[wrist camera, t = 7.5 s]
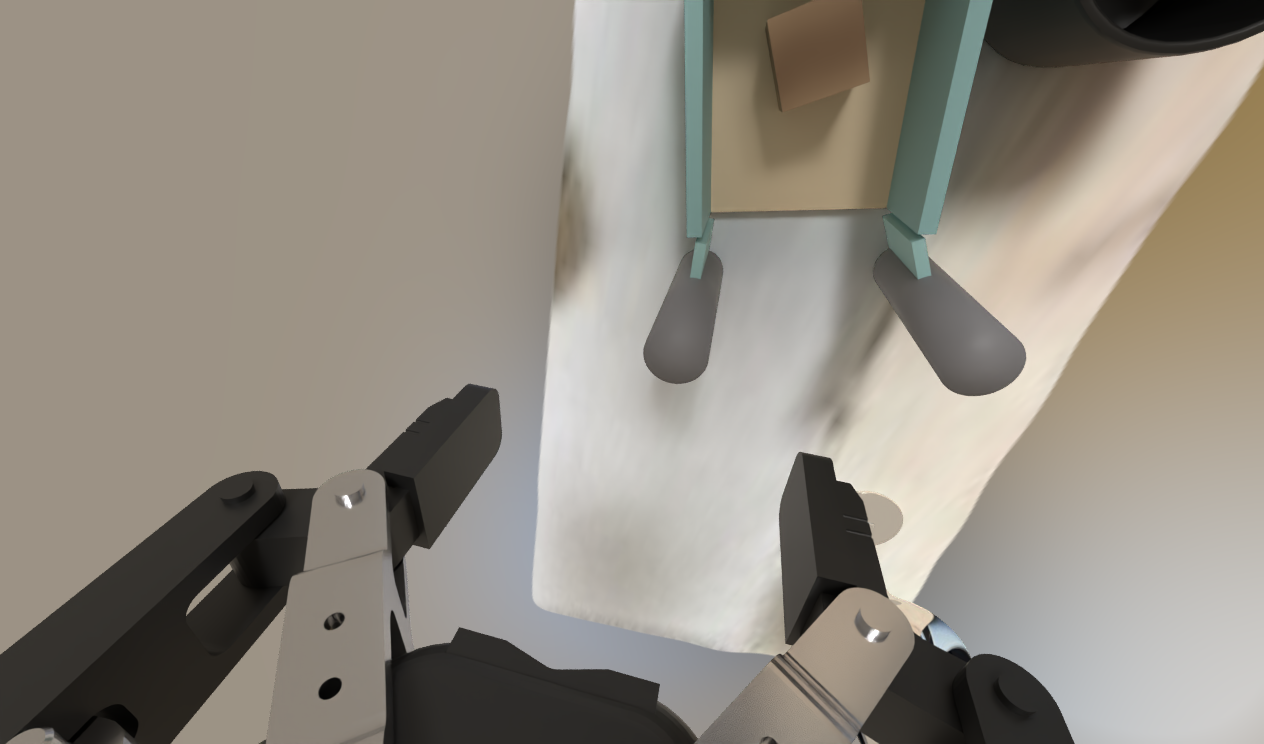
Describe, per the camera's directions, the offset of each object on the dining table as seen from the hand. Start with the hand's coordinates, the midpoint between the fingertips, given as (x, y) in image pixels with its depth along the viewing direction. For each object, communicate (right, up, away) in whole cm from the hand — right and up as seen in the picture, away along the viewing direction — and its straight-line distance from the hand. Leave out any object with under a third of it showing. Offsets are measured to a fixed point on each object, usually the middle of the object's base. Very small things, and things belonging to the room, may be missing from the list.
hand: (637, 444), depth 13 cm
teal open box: (+10, +18, +14) cm, 25 cm away
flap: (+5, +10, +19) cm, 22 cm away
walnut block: (+9, +19, +13) cm, 25 cm away
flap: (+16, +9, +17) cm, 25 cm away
